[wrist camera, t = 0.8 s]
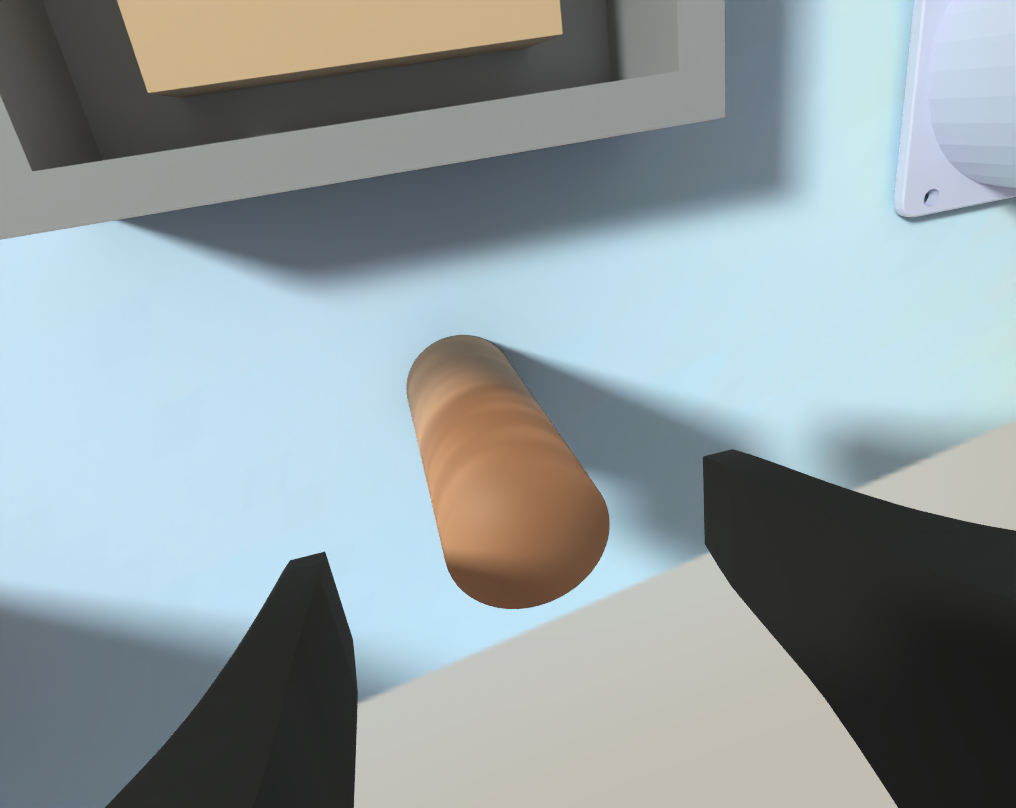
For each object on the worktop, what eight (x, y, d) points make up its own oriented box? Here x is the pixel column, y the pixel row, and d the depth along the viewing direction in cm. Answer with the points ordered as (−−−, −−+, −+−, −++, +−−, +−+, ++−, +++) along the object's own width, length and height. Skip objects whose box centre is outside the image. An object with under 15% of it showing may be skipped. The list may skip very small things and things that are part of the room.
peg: (505, 325, 19) (602, 445, 12) (520, 423, 20) (614, 584, 13) (396, 347, 19) (429, 487, 12) (418, 446, 20) (460, 627, 13)
